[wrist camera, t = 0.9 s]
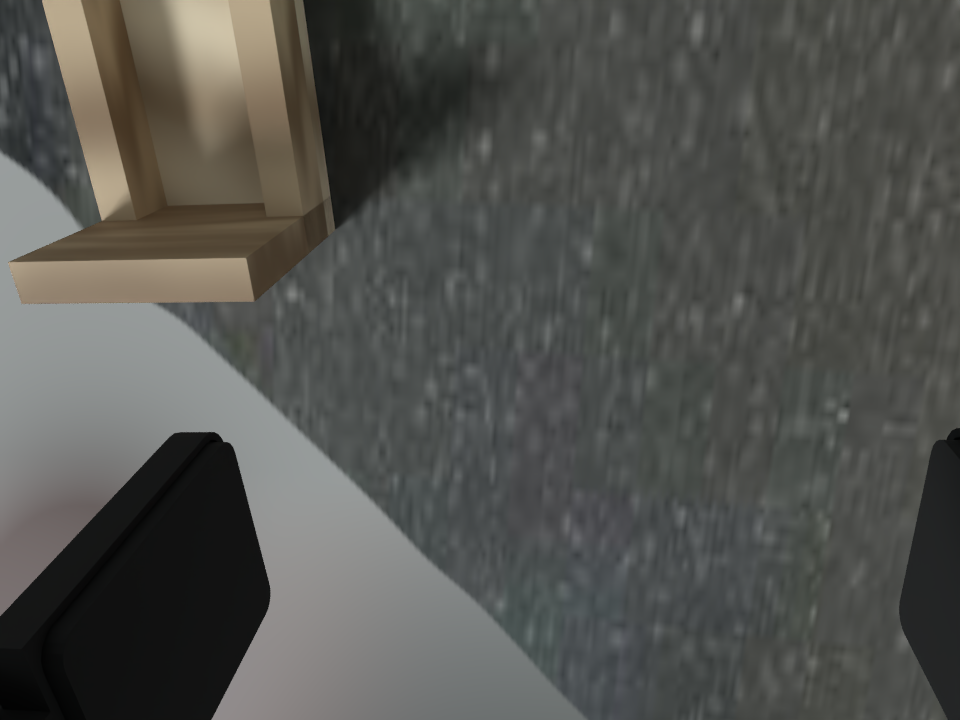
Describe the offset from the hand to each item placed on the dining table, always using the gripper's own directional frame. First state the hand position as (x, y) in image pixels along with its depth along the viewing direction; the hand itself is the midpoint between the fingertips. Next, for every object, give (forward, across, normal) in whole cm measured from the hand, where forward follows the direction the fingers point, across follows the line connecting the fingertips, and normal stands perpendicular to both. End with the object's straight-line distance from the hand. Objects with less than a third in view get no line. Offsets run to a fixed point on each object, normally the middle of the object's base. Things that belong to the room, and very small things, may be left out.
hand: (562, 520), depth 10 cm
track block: (+23, +15, -4) cm, 27 cm away
